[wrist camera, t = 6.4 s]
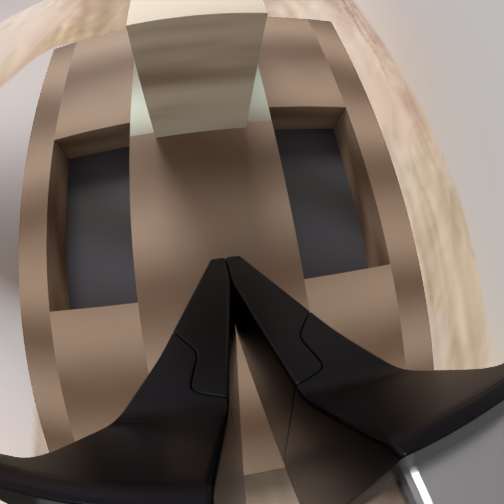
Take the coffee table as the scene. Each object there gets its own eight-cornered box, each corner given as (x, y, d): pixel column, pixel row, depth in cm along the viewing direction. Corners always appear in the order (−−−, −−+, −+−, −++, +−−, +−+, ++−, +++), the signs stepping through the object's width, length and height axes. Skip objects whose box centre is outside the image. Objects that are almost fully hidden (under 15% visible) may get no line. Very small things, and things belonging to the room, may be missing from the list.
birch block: (246, 127, 17) (267, 12, 9) (155, 137, 16) (125, 25, 8) (226, 23, 18) (234, -66, 11) (157, 30, 18) (147, -59, 10)
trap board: (409, 405, 17) (435, 414, 14) (77, 459, 14) (58, 477, 11) (321, 45, 23) (330, 21, 20) (65, 72, 20) (54, 49, 17)
